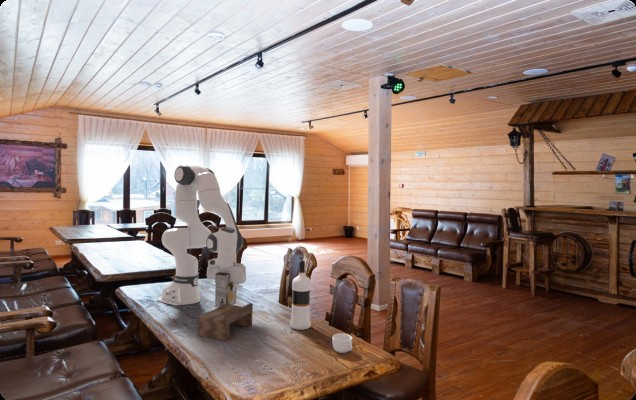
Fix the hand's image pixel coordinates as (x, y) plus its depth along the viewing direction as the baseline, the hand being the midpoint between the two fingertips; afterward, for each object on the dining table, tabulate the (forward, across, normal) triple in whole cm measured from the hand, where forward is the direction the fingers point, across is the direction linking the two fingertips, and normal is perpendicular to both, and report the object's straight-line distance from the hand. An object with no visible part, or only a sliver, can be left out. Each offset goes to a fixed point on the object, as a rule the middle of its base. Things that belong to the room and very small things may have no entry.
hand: (226, 290), depth 202 cm
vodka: (+12, -39, 0) cm, 41 cm away
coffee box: (+7, 0, 0) cm, 7 cm away
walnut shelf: (+12, -12, +18) cm, 25 cm away
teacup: (+11, -65, +18) cm, 69 cm away
